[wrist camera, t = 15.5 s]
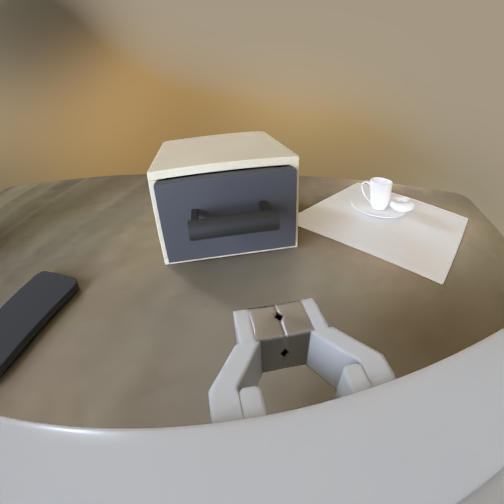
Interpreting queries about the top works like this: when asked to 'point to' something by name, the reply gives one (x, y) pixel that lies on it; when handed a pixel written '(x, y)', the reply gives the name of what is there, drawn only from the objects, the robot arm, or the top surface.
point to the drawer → (227, 212)
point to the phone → (31, 312)
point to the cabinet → (218, 163)
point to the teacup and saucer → (389, 227)
